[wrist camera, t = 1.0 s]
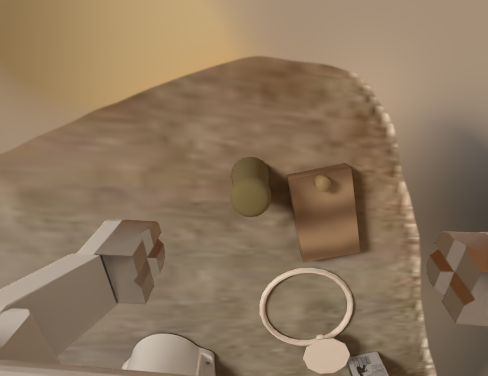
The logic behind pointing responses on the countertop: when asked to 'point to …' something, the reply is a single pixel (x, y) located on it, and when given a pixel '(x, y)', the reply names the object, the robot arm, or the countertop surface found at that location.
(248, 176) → the cork
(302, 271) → the hand towel holder
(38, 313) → the robot arm
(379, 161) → the countertop surface
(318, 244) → the plane block
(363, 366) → the coffee box
